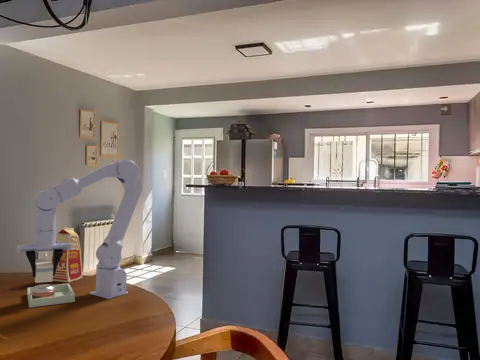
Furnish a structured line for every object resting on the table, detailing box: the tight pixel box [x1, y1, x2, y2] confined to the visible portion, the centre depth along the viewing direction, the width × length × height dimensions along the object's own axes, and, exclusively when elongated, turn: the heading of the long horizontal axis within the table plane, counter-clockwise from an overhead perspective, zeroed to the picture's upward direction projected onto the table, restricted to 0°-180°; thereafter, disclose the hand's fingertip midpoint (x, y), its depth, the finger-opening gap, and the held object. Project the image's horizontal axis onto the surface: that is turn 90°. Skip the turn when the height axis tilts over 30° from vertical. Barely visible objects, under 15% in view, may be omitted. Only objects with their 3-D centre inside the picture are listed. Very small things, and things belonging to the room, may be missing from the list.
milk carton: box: [50, 225, 83, 283], centre depth 142 cm, size 9×9×20 cm
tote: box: [26, 283, 76, 308], centre depth 118 cm, size 14×12×2 cm
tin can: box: [32, 283, 56, 299], centre depth 115 cm, size 6×6×4 cm
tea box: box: [34, 261, 54, 284], centre depth 115 cm, size 5×5×5 cm
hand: (43, 275), depth 115 cm, fingers closed on tea box, 4 cm apart
